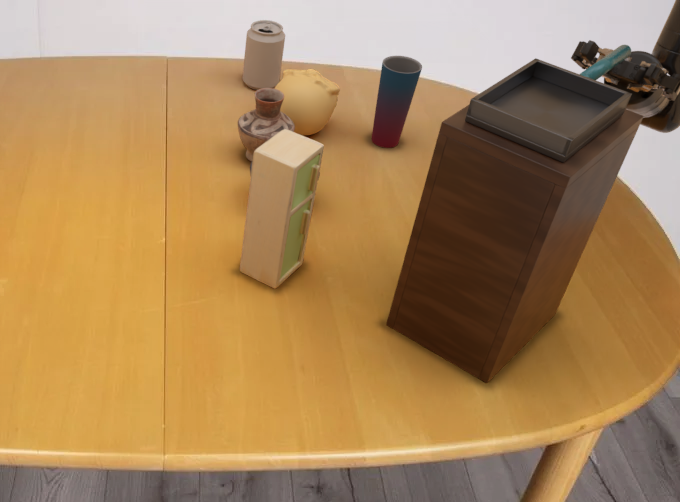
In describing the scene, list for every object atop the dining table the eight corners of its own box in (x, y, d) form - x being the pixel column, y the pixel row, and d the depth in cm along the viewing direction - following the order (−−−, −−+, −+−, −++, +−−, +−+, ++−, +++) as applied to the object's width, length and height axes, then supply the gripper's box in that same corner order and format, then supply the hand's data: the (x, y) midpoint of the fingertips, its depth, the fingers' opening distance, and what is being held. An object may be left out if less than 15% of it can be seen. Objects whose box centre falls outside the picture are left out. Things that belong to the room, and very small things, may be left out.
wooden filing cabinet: (486, 383, 116) (570, 177, 94) (385, 324, 124) (441, 121, 102) (555, 314, 127) (644, 115, 105) (458, 264, 135) (522, 70, 113)
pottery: (285, 140, 160) (293, 80, 152) (322, 220, 142) (334, 156, 134) (224, 143, 158) (230, 82, 150) (254, 224, 140) (262, 159, 132)
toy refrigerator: (279, 292, 128) (299, 169, 114) (238, 272, 131) (252, 149, 117) (307, 266, 133) (329, 145, 118) (267, 247, 136) (284, 126, 121)
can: (237, 88, 174) (243, 29, 166) (247, 72, 179) (253, 15, 171) (274, 95, 173) (281, 36, 165) (282, 79, 178) (290, 21, 170)
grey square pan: (563, 163, 96) (572, 140, 94) (464, 120, 102) (470, 99, 100) (667, 79, 113) (676, 58, 111) (576, 47, 119) (584, 27, 117)
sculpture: (340, 125, 165) (351, 71, 158) (308, 150, 158) (317, 95, 151) (289, 105, 170) (296, 52, 163) (255, 128, 163) (261, 74, 155)
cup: (398, 154, 158) (417, 76, 148) (361, 144, 160) (378, 67, 150) (407, 137, 163) (426, 61, 153) (371, 128, 165) (388, 52, 155)
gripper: (604, 42, 130) (582, 13, 116) (701, 76, 123) (689, 49, 109) (577, 91, 132) (553, 68, 119) (671, 126, 125) (656, 106, 112)
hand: (618, 59), depth 114 cm, fingers open, 8 cm apart
